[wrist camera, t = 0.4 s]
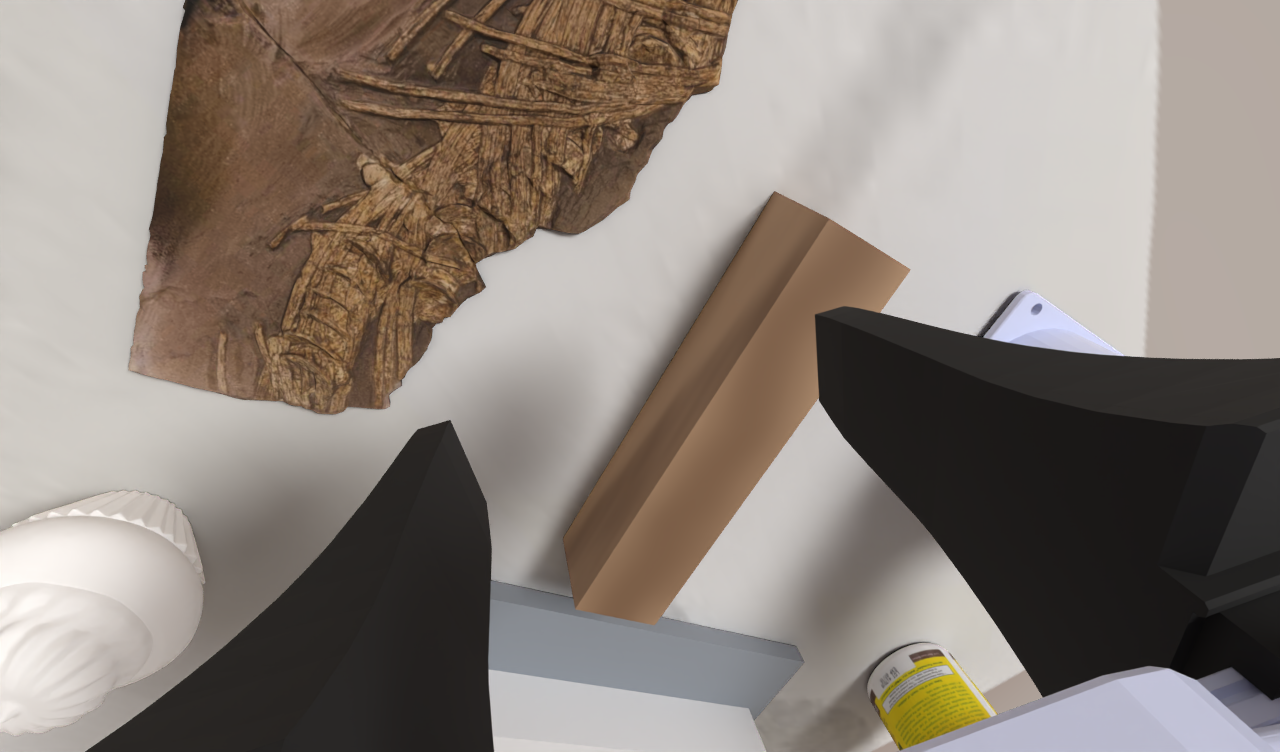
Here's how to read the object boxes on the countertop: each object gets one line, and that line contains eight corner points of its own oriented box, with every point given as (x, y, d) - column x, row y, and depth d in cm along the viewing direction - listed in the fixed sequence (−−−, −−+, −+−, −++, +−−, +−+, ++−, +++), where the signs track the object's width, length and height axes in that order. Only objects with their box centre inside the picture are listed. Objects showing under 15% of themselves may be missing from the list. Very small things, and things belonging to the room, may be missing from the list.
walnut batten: (843, 234, 22) (910, 269, 19) (632, 552, 27) (654, 625, 24) (770, 189, 21) (829, 218, 17) (561, 534, 26) (575, 609, 22)
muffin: (280, 526, 22) (207, 707, 16) (154, 616, 23) (40, 823, 17) (113, 417, 19) (-55, 592, 13) (-28, 526, 19) (-252, 741, 13)
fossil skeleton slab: (307, 470, 22) (300, 488, 21) (-56, 242, 16) (-88, 254, 15) (907, -53, 18) (930, -59, 17) (709, -573, 13) (727, -622, 12)
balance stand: (796, 646, 33) (833, 716, 30) (699, 758, 36) (723, 833, 33) (384, 557, 24) (369, 644, 20) (303, 719, 27) (278, 818, 23)
